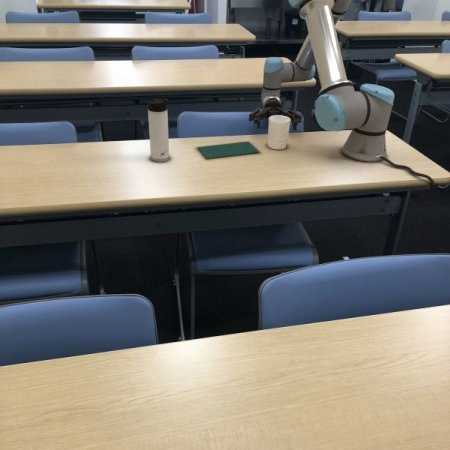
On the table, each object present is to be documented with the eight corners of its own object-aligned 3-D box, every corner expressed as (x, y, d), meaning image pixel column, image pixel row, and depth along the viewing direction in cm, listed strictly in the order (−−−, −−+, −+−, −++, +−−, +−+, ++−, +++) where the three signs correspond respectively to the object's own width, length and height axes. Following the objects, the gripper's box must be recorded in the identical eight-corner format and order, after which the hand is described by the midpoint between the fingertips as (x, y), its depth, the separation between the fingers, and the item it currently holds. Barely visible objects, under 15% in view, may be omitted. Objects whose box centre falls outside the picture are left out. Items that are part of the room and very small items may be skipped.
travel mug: (167, 163, 164) (165, 102, 152) (148, 161, 165) (144, 100, 152) (172, 155, 169) (170, 96, 157) (153, 154, 170) (150, 94, 157)
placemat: (259, 153, 174) (259, 151, 174) (206, 159, 168) (206, 158, 168) (248, 142, 181) (248, 141, 181) (197, 148, 175) (197, 147, 175)
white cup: (286, 151, 176) (289, 123, 170) (264, 149, 177) (267, 121, 171) (288, 143, 182) (291, 116, 176) (267, 141, 183) (270, 114, 177)
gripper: (301, 117, 198) (309, 136, 182) (241, 115, 198) (243, 134, 181) (304, 98, 194) (312, 116, 177) (242, 96, 193) (244, 114, 177)
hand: (277, 125), depth 179 cm, fingers open, 13 cm apart
